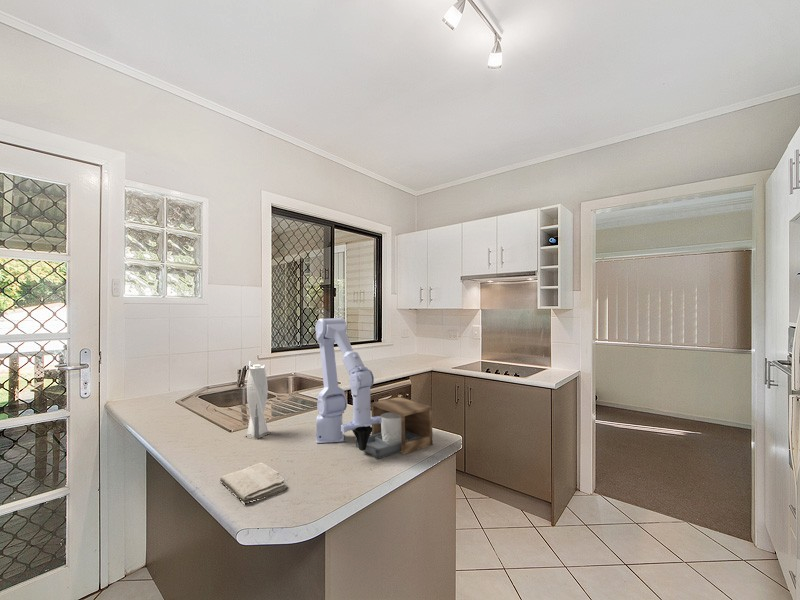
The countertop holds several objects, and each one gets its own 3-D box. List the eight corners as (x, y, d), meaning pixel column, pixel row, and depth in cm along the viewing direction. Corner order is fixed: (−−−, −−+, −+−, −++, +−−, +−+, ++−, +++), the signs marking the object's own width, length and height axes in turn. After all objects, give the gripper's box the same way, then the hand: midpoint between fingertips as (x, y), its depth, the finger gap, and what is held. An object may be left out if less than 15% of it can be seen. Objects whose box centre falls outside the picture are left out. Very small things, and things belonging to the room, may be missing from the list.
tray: (377, 459, 112) (377, 450, 112) (355, 446, 122) (355, 439, 122) (422, 444, 123) (422, 436, 123) (399, 434, 134) (399, 427, 134)
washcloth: (244, 508, 86) (244, 496, 86) (217, 484, 98) (217, 473, 98) (290, 490, 94) (289, 478, 94) (259, 469, 107) (259, 459, 107)
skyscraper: (240, 436, 134) (239, 362, 135) (257, 429, 141) (256, 359, 142) (256, 439, 130) (256, 363, 131) (273, 432, 138) (272, 360, 138)
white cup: (401, 449, 119) (401, 419, 119) (378, 448, 120) (378, 418, 121) (404, 440, 127) (404, 412, 127) (383, 439, 128) (382, 411, 128)
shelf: (403, 454, 115) (402, 414, 115) (371, 438, 129) (371, 402, 130) (432, 444, 123) (431, 406, 123) (400, 430, 137) (399, 396, 138)
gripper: (348, 414, 109) (349, 459, 108) (386, 406, 118) (387, 447, 117) (337, 409, 114) (338, 452, 114) (374, 401, 123) (375, 441, 123)
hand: (362, 449), depth 116 cm, fingers closed
